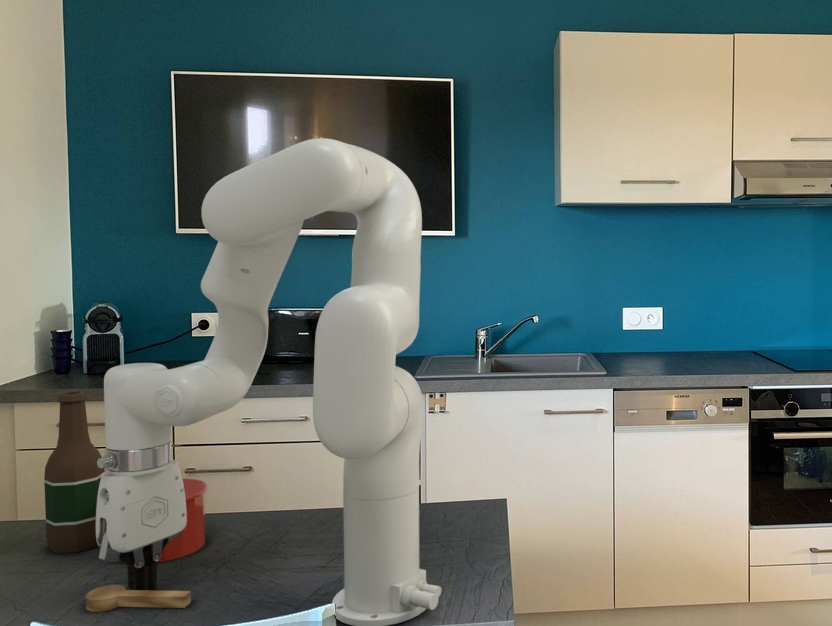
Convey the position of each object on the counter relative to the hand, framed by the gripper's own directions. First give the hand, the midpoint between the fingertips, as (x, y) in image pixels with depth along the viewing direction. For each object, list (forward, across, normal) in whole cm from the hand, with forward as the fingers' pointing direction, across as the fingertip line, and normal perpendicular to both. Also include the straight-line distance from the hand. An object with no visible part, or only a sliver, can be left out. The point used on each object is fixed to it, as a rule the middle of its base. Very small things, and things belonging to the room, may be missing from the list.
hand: (142, 591), depth 104 cm
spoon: (+1, -2, -1) cm, 3 cm away
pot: (+1, +12, +12) cm, 17 cm away
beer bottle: (+1, +7, +25) cm, 26 cm away
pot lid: (-8, +12, +12) cm, 19 cm away
